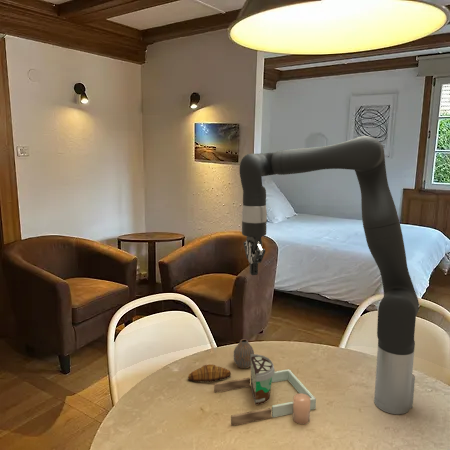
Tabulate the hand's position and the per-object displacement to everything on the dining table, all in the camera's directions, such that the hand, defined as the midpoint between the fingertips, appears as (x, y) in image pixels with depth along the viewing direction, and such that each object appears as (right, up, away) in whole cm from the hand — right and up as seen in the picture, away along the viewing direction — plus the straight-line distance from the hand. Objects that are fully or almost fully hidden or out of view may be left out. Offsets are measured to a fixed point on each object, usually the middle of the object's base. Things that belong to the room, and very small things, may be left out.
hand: (253, 274), depth 131 cm
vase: (-3, -31, +8) cm, 33 cm away
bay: (+7, -34, -10) cm, 36 cm away
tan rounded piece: (+11, -36, -20) cm, 43 cm away
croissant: (-14, -33, 0) cm, 36 cm away
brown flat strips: (-4, -35, -13) cm, 38 cm away
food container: (+2, -34, -9) cm, 35 cm away
